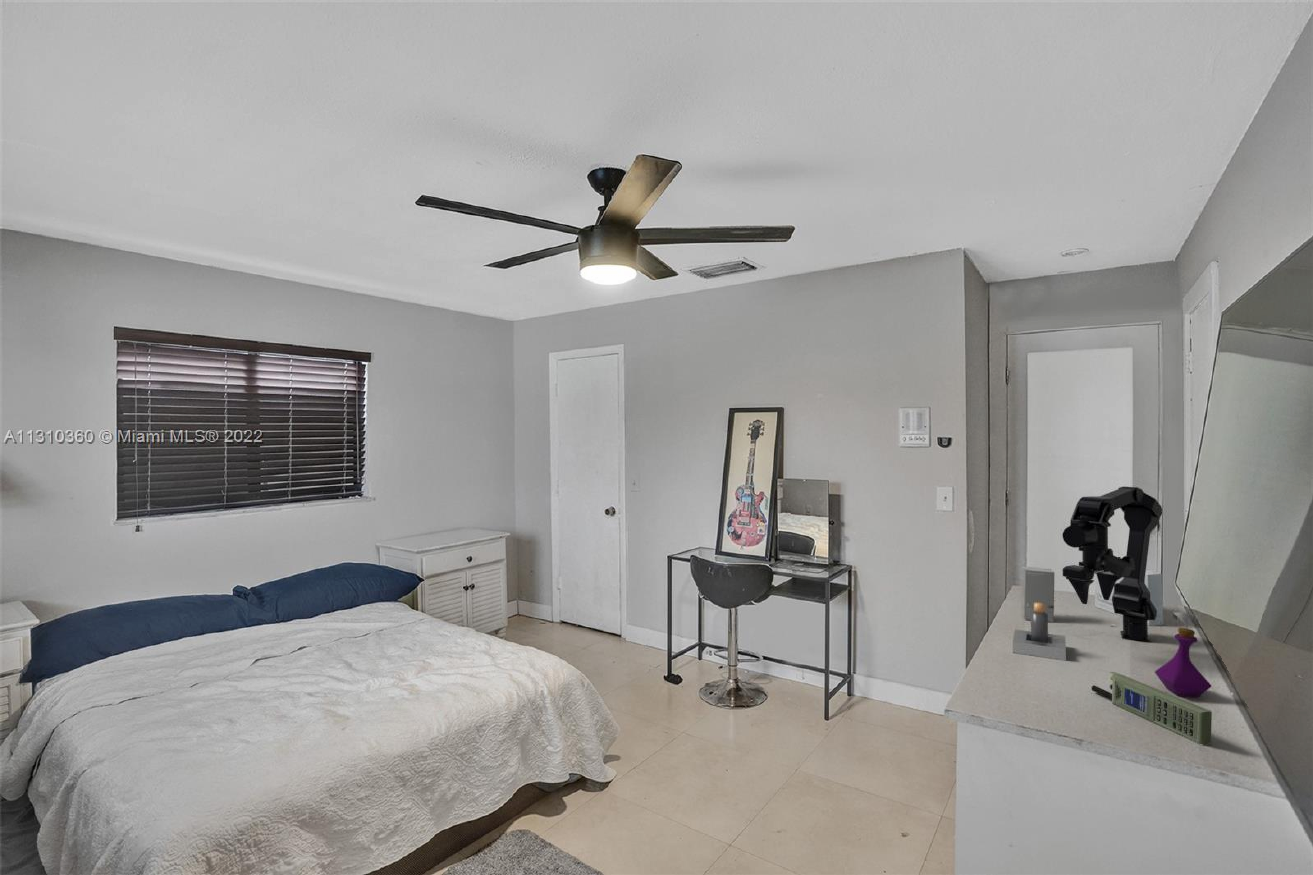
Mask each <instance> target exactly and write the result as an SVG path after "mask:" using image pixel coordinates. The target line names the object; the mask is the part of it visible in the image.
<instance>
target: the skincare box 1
mask: <svg viewBox="0 0 1313 875" xmlns="http://www.w3.org/2000/svg"><path fill="white" fill-rule="evenodd" d="M1021 570H1022V571H1021V576H1022V577H1021V615H1022V617H1023V618H1024V620H1025V621H1031V611H1034V603H1043V604H1044V612H1045V613H1047V614H1048V623H1054V620H1055V571H1053V570H1052V569H1051V568H1044V567H1043V568H1042V567H1036V566H1035V567H1032V566H1021Z"/></svg>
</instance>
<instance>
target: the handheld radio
mask: <svg viewBox="0 0 1313 875" xmlns="http://www.w3.org/2000/svg"><path fill="white" fill-rule="evenodd" d="M1109 673H1110V675H1112V676H1110V680H1111V681H1112V684H1110V685H1109V688H1110V690H1111V692H1109V691H1107V690H1106V689H1103V688H1101V687H1099V686H1097V685H1092V686H1091V690H1092V692H1095V693H1096V694H1099V695H1101V696H1103V697H1104V698H1105V697H1106V698H1108V699H1110V700H1111V704H1112V705H1114V706H1117V707H1119V708H1121V709H1123V710H1125V711H1127V712H1129V713H1131V714H1134V715H1135V716H1138V717H1140V718H1142V719H1145V720H1146V719H1148V720H1147V721H1149V722H1151V723H1153V724H1155V723H1156V724H1155V725H1157V724H1158V726H1159V725H1160V726H1159V727H1161V726H1162V728H1164V729H1166V728H1167V729H1166V730H1168V729H1169V730H1168V731H1170V730H1171V732H1172V731H1173V732H1172V733H1174V732H1176V733H1175V734H1177V733H1178V734H1177V735H1179V734H1180V735H1179V736H1181V735H1182V736H1181V737H1183V736H1184V737H1183V738H1185V737H1186V738H1185V739H1187V738H1189V739H1190V740H1189V739H1188V740H1189V741H1192V740H1193V741H1192V742H1194V743H1196V742H1197V743H1196V744H1198V743H1199V744H1198V745H1200V744H1203V745H1202V746H1206V745H1205V744H1209V743H1211V744H1212V720H1213V719H1212V718H1213V717H1212V715H1213V712H1212V711H1211V710H1210V709H1207V708H1205V707H1202V706H1200V705H1198V704H1195V703H1193V702H1191V701H1187V700H1185V699H1184V698H1180V697H1179V696H1177V695H1173V694H1171V693H1168V692H1165V691H1163V690H1162V689H1159V688H1155V687H1153V686H1151V685H1149V684H1146V683H1144V682H1141V681H1138V680H1136V679H1134V678H1131V677H1129V676H1126V675H1125V674H1120V673H1118V672H1115V671H1110V672H1109Z"/></svg>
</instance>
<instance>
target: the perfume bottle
mask: <svg viewBox="0 0 1313 875" xmlns="http://www.w3.org/2000/svg"><path fill="white" fill-rule="evenodd" d="M1172 617H1173V619H1174V620H1176V621H1177V620H1178V619H1179V620H1180V621H1181V622H1182V623H1183V624H1184V625H1185V626H1184V627H1185V628H1184V627H1178V628H1177V631H1178V633H1177V634H1175V635H1174V639H1176V640H1177V642H1178V644H1179V645H1178V649H1177V651H1176V653H1175V655H1174V656H1173V657H1172V659H1170V660H1169V661H1168V662H1166V663H1165V664H1163V665H1162V666H1160V667H1159V668H1157V669H1156V670H1154V673H1155V676H1157V678H1158V679H1159V680H1160V682H1161V683H1162V684H1163V686H1164V687H1165V689H1167V690H1168V691H1169V692H1171V693H1172V694H1174V696H1176V697H1189V698H1199V697H1201V695H1203V694H1204V693H1205V692H1207V691H1208V690H1210V688H1212V684H1211V683H1210V681H1208V680H1207V679H1206V678H1205V677H1204V675H1203V674H1202V673H1201V672H1200V671H1199V670H1198V668H1197V667H1196V666H1195V665H1194V664H1193V663H1192V660H1191V658H1190V649H1191V646H1192V645H1193V644H1194V643H1197V642H1198V641H1199V640H1198V637H1196V636H1195V634H1196V631H1194V630H1193V629H1190V628H1188V626H1187V625H1188V623H1189V621H1190V614H1188V613H1187V612H1172Z"/></svg>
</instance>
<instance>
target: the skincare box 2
mask: <svg viewBox="0 0 1313 875" xmlns="http://www.w3.org/2000/svg"><path fill="white" fill-rule="evenodd" d="M1123 578H1124V577H1122V578H1120V579H1119V580H1117V581H1116V583H1119V582H1120V581H1121V580H1122V579H1123ZM1093 580H1094V603H1095V604H1094V607H1095V608H1098V609H1100V610H1103V611H1106V612H1109V613H1111V614H1115V615H1117V616H1120V617H1123V615H1122V614H1116V613H1115V612H1114V608H1113V603H1112V595H1113V593H1114V587H1113V590H1112V593H1111V595H1110V598H1109V600H1104V598H1103V596H1102V592H1101V589H1100V585H1099V582H1098V578H1097V574H1094V577H1093ZM1116 583H1115V584H1116ZM1145 585H1146V586H1147V588H1148V590H1149V592H1150V600H1151V602H1152V603H1153V605H1154V607H1155V608H1156V610H1157V616H1156V618H1155V620H1148V625H1149V626H1148V627H1150V626H1163V625H1164V611H1163V610H1164V609H1163V608H1164V606H1163V605H1164V603H1163V602H1164V601H1163V599H1164V596H1163V575H1162V573H1160V572H1156V571H1153V570H1150V569H1149V570H1148V569H1146V573H1145Z"/></svg>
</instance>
